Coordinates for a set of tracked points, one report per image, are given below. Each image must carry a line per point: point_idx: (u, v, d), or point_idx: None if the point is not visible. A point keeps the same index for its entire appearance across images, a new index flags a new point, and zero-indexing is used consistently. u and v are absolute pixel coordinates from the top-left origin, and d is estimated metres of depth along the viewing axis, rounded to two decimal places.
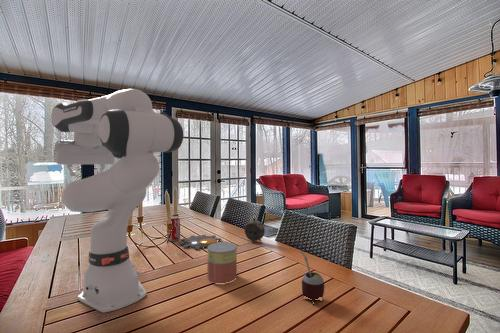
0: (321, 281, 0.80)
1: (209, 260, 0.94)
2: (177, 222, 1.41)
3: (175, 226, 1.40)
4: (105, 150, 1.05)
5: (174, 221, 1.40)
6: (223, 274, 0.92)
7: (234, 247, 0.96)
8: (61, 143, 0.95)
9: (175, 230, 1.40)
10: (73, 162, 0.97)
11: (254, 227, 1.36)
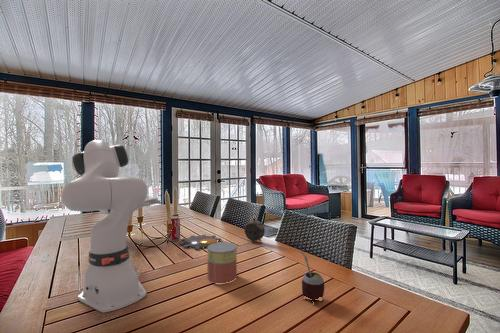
0: (321, 281, 0.80)
1: (209, 260, 0.94)
2: (177, 222, 1.41)
3: (175, 226, 1.40)
4: (146, 197, 1.55)
5: (174, 221, 1.40)
6: (223, 274, 0.92)
7: (234, 247, 0.96)
8: None
9: (175, 230, 1.40)
10: None
11: (254, 227, 1.36)
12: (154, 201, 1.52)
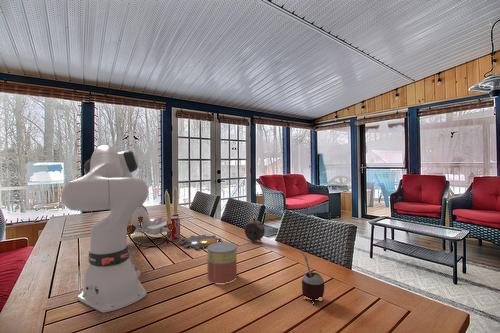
0: (321, 281, 0.80)
1: (209, 260, 0.94)
2: (177, 222, 1.41)
3: (175, 226, 1.40)
4: (165, 220, 1.51)
5: (174, 221, 1.40)
6: (223, 274, 0.92)
7: (234, 247, 0.96)
8: (145, 229, 1.38)
9: (175, 230, 1.40)
10: (160, 226, 1.39)
11: (254, 227, 1.36)
12: None
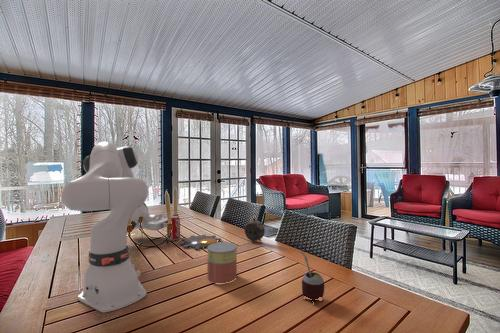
0: (321, 281, 0.80)
1: (209, 260, 0.94)
2: (178, 221, 1.42)
3: (176, 226, 1.41)
4: (165, 216, 1.51)
5: (175, 220, 1.40)
6: (223, 274, 0.92)
7: (234, 247, 0.96)
8: (145, 225, 1.37)
9: (176, 229, 1.41)
10: (161, 221, 1.39)
11: (254, 227, 1.36)
12: None
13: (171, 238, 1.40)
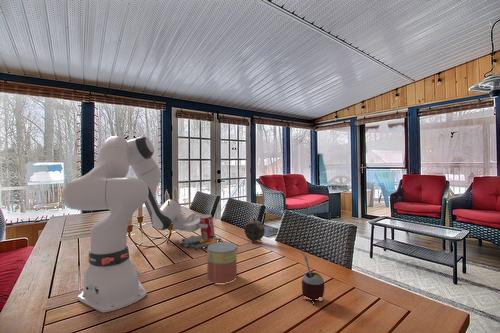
0: (321, 281, 0.80)
1: (209, 260, 0.94)
2: (211, 221, 1.36)
3: (210, 225, 1.36)
4: (197, 217, 1.46)
5: (208, 220, 1.35)
6: (223, 274, 0.92)
7: (234, 247, 0.96)
8: (181, 226, 1.32)
9: (210, 229, 1.36)
10: (196, 222, 1.34)
11: (254, 227, 1.36)
12: None
13: (206, 238, 1.36)
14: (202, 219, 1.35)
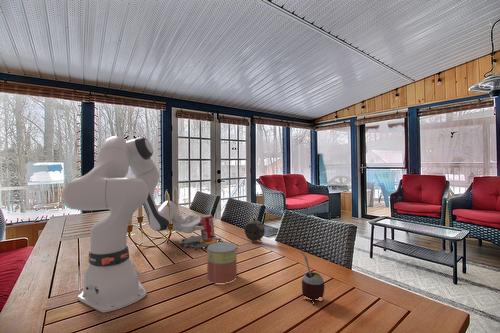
0: (321, 281, 0.80)
1: (209, 260, 0.94)
2: (211, 220, 1.37)
3: (210, 225, 1.36)
4: (195, 218, 1.45)
5: (208, 219, 1.36)
6: (223, 274, 0.92)
7: (234, 247, 0.96)
8: (178, 227, 1.32)
9: (210, 228, 1.36)
10: (193, 224, 1.33)
11: (254, 227, 1.36)
12: None
13: (206, 238, 1.36)
14: (202, 218, 1.36)
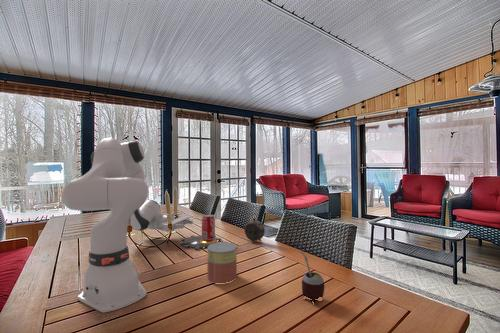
0: (321, 281, 0.80)
1: (209, 260, 0.94)
2: (213, 220, 1.38)
3: (211, 225, 1.37)
4: None
5: (210, 219, 1.37)
6: (223, 274, 0.92)
7: (234, 247, 0.96)
8: (159, 225, 1.35)
9: (211, 229, 1.37)
10: (174, 222, 1.37)
11: (254, 227, 1.36)
12: (186, 221, 1.46)
13: (206, 237, 1.36)
14: (204, 218, 1.37)
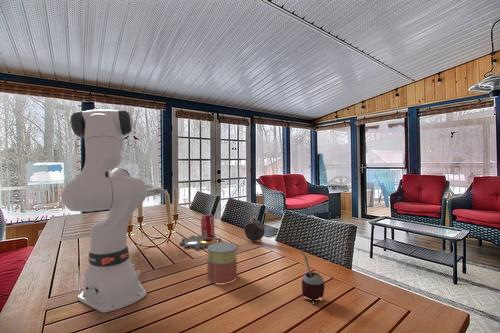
0: (321, 281, 0.80)
1: (209, 260, 0.94)
2: (212, 219, 1.39)
3: (210, 223, 1.38)
4: (150, 187, 1.40)
5: (209, 218, 1.38)
6: (223, 274, 0.92)
7: (234, 247, 0.96)
8: None
9: (210, 227, 1.37)
10: None
11: (254, 227, 1.36)
12: (159, 191, 1.38)
13: (206, 236, 1.36)
14: (203, 217, 1.38)
